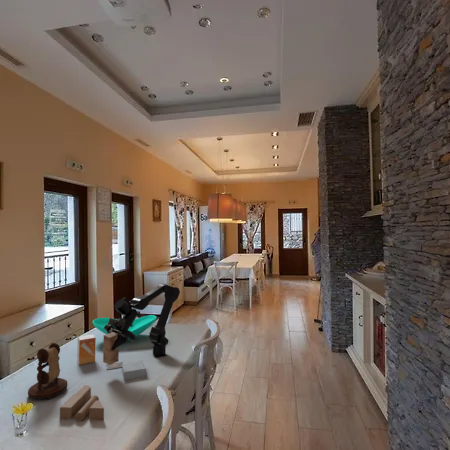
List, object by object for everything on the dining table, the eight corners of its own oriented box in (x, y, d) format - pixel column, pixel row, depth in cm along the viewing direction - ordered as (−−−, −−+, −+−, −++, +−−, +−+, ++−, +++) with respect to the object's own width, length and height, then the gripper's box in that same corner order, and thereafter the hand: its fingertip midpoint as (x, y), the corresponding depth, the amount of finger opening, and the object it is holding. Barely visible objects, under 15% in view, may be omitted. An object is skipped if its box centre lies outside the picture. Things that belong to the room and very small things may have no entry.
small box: (78, 365, 156) (79, 340, 157) (77, 361, 162) (77, 336, 162) (95, 361, 161) (95, 337, 161) (93, 357, 166) (93, 334, 167)
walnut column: (112, 358, 149) (112, 332, 149) (118, 361, 146) (118, 334, 146) (103, 361, 145) (103, 335, 145) (109, 365, 142) (109, 337, 142)
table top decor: (157, 330, 212) (157, 311, 213) (156, 345, 185) (156, 323, 186) (97, 334, 204) (97, 314, 205) (87, 349, 177) (87, 327, 178)
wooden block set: (57, 406, 111) (83, 382, 129) (57, 421, 111) (83, 395, 129) (102, 407, 110) (122, 383, 128) (102, 423, 110) (122, 396, 128)
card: (122, 362, 160) (122, 361, 160) (123, 367, 154) (123, 366, 154) (106, 365, 157) (106, 364, 157) (106, 369, 151) (106, 369, 151)
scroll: (50, 403, 122) (51, 353, 122) (18, 399, 124) (19, 351, 125) (74, 385, 136) (75, 340, 137) (46, 382, 139) (47, 338, 139)
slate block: (142, 368, 154) (142, 360, 154) (145, 376, 145) (145, 368, 145) (122, 371, 150) (122, 363, 150) (123, 380, 141) (123, 372, 141)
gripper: (107, 308, 154) (86, 336, 145) (130, 314, 143) (109, 344, 134) (120, 320, 160) (101, 347, 151) (143, 326, 150) (124, 356, 140)
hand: (108, 348), depth 144 cm, fingers closed on walnut column, 5 cm apart
